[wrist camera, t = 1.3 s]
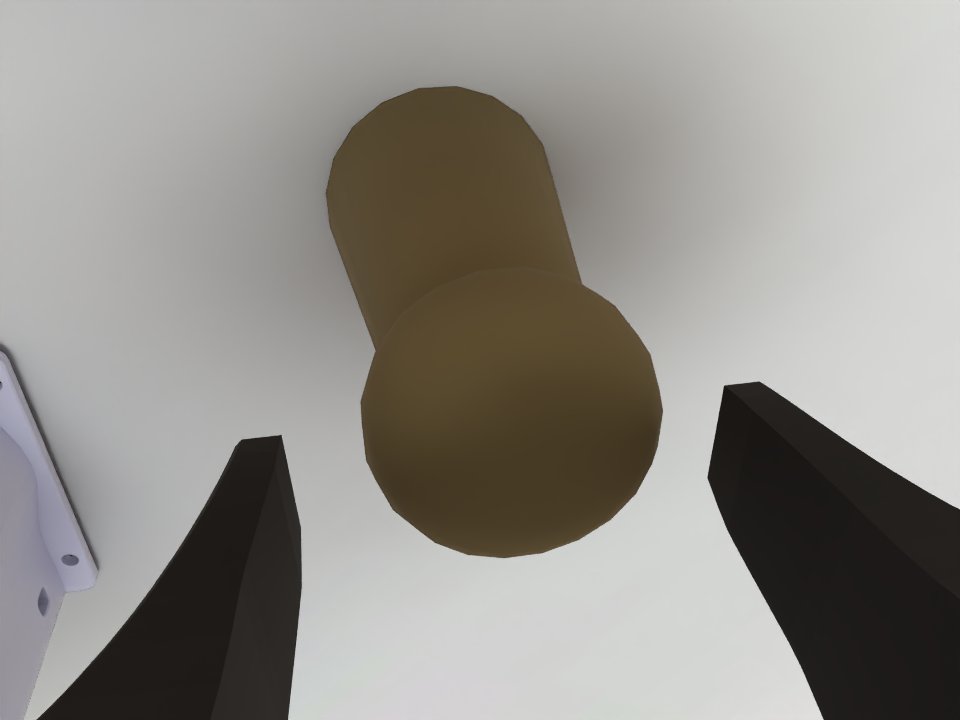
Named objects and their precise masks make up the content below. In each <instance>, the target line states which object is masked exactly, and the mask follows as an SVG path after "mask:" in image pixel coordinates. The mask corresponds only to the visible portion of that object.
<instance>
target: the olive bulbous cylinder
mask: <svg viewBox="0 0 960 720" xmlns="http://www.w3.org/2000/svg"><path fill="white" fill-rule="evenodd" d="M326 198H327V206H328V214H329V222H330V228H331V231H332V233H333V236H334V239H335V241H336V244H337V247H338V250H339V252H340V255H341V258H342V260H343V263H344V266H345V268H346V271H347V274H348V277H349V279H350V282H351V285H352V287H353V290H354V293H355V296H356V298H357V301H358V304H359V306H360V309H361V312H362V315H363V317H364V320H365V323H366V325H367V328H368V331H369V334H370V336H371V339H372V342H373V344H374V347H375V350H376V352H375V355H374V358H373V361H372V364H371V367H370V371H369V374H368V378H367V381H366V385H365V388H364V392H363V395H362V399H361V417H362V429H363V438H364V446H365V455H366V461H367V463H368V465H369V467H370V469H371V471H372V473H373V475H374V478H375V480H376V481H377V483H378V485H379V487H380V488H381V490H382V492H383V493H384V495H385V497H386V499H387V500H388V502H389V504H390V506H391V507H392V509H393V510H394V511H395V512H396V513H397V514H399V515H400V516H401V517H402V518H404V519H405V520H406V521H408V522H409V523H410V524H411V525H413V526H414V527H415V528H416V529H418V530H419V531H420V532H421V533H423V534H424V535H425V536H427V537H428V538H429V539H431V540H432V541H433V542H435V543H437V544H440V545H442V546H445V547H448V548H451V549H453V550H456V551H459V552H462V553H464V554H467V555H475V556H486V557H497V558H509V557H517V556H524V555H531V554H539V553H544V552H547V551H549V550H552V549H555V548H558V547H560V546H563V545H566V544H569V543H571V542H574V541H577V540H579V539H581V538H582V537H584V536H586V535H587V534H589V533H590V532H592V531H594V530H595V529H597V528H598V527H600V526H601V525H603V524H605V523H606V522H608V521H609V520H611V519H612V518H613V517H614V516H615V515H616V514H617V513H618V512H619V511H620V510H621V509H622V508H623V507H624V506H625V505H626V503H627V502H628V501H629V500H630V499H631V498H632V497H633V496H634V495H635V494H636V493H637V491H638V489H639V487H640V485H641V483H642V482H643V480H644V478H645V476H646V474H647V472H648V470H649V468H650V467H651V465H652V462H653V459H654V456H655V453H656V450H657V447H658V441H659V434H660V428H661V421H662V414H663V408H662V402H661V396H660V391H659V386H658V383H657V379H656V375H655V371H654V367H653V363H652V359H651V355H650V353H649V352H648V350H647V348H646V347H645V345H644V344H643V342H642V341H641V339H640V337H639V336H638V335H637V333H636V332H635V331H634V329H633V328H632V327H631V326H630V324H629V323H628V322H627V320H626V319H625V318H624V317H623V315H622V314H621V313H620V311H619V310H618V309H617V308H616V306H615V305H613V304H612V303H610V302H609V301H607V300H606V299H604V298H603V297H602V296H600V295H599V294H597V293H595V292H594V291H592V290H590V289H589V288H587V287H585V286H584V285H582V282H581V279H580V275H579V271H578V268H577V264H576V261H575V257H574V253H573V250H572V246H571V243H570V239H569V236H568V232H567V228H566V225H565V221H564V218H563V214H562V210H561V207H560V203H559V200H558V196H557V192H556V189H555V185H554V182H553V178H552V175H551V171H550V168H549V165H548V161H547V158H546V154H545V151H544V148H543V144H542V143H541V142H540V140H539V139H538V137H537V136H536V135H535V133H534V132H533V131H532V129H531V128H530V126H529V125H528V124H527V122H526V121H525V120H524V118H523V117H522V116H521V115H519V114H518V113H516V112H515V111H513V110H512V109H510V108H509V107H508V106H506V105H505V104H503V103H502V102H500V101H499V100H497V99H496V98H494V97H493V96H490V95H486V94H482V93H479V92H475V91H471V90H467V89H464V88H460V87H441V88H423V89H417V90H414V91H411V92H409V93H406V94H404V95H401V96H399V97H396V98H394V99H391V100H389V101H386V102H383V103H382V104H380V105H379V106H378V107H377V108H376V109H374V110H373V111H372V112H371V113H370V114H368V115H367V116H366V117H365V118H364V119H362V120H361V121H360V122H359V123H358V124H356V125H355V126H354V127H353V128H352V130H351V131H350V133H349V135H348V136H347V138H346V139H345V141H344V143H343V144H342V146H341V147H340V149H339V151H338V152H337V154H336V156H335V157H334V159H333V164H332V168H331V173H330V177H329V182H328V186H327V190H326Z"/></svg>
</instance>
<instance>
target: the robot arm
mask: <svg viewBox="0 0 960 720" xmlns="http://www.w3.org/2000/svg"><path fill="white" fill-rule="evenodd" d="M0 381H1V382H2V383H0V720H24V717H25V714H26V711H27V708H28V705H29V702H30V699H31V696H32V693H33V689H34V686H35V683H36V680H37V677H38V674H39V671H40V668H41V665H42V662H43V659H44V656H45V652H46V649H47V646H48V643H49V640H50V637H51V634H52V631H53V628H54V625H55V622H56V619H57V616H58V612H59V609H60V606H61V603H62V600H63V597H64V594H65V592H73V591H81V590H86V589H90V588H91V587H93V586H94V585H95V583H96V581H97V577H98V570H97V568H96V565H95V563H94V561H93V558H92V556H91V554H90V551H89V549H88V546H87V544H86V542H85V539H84V537H83V535H82V532H81V530H80V528H79V525H78V523H77V520H76V518H75V516H74V513H73V511H72V509H71V506H70V504H69V501H68V499H67V497H66V494H65V492H64V490H63V487H62V485H61V482H60V480H59V478H58V475H57V473H56V471H55V468H54V466H53V463H52V461H51V459H50V456H49V454H48V452H47V449H46V447H45V444H44V442H43V440H42V437H41V435H40V433H39V430H38V428H37V425H36V423H35V421H34V418H33V416H32V414H31V411H30V409H29V406H28V404H27V402H26V399H25V397H24V395H23V392H22V390H21V388H20V385H19V383H18V380H17V378H16V376H15V373H14V371H13V369H12V366H11V364H10V361H9V359H8V358H7V356H6V355H5V354H4V353H3V352H1V351H0ZM707 478H708V480H709V483H710V486H711V489H712V491H713V494H714V497H715V500H716V502H717V505H718V508H719V510H720V513H721V515H722V518H723V520H724V523H725V525H726V528H727V530H728V532H729V534H730V536H731V538H732V540H733V542H734V544H735V545H736V547H737V549H738V551H739V553H740V555H741V557H742V558H743V560H744V562H745V564H746V566H747V568H748V569H749V571H750V573H751V575H752V577H753V579H754V580H755V582H756V584H757V586H758V588H759V589H760V591H761V593H762V595H763V597H764V598H765V600H766V602H767V604H768V606H769V607H770V609H771V611H772V613H773V615H774V616H775V618H776V620H777V622H778V624H779V625H780V627H781V629H782V631H783V633H784V634H785V636H786V638H787V640H788V642H789V644H790V646H791V648H792V650H793V652H794V654H795V656H796V658H797V660H798V662H799V664H800V666H801V668H802V670H803V672H804V674H805V677H806V679H807V681H808V684H809V686H810V688H811V691H812V693H813V696H814V698H815V700H816V703H817V705H818V707H819V710H820V712H821V714H822V717H823V719H824V720H960V509H958V508H956V507H954V506H952V505H950V504H948V503H946V502H945V501H943V500H941V499H939V498H937V497H936V496H934V495H932V494H930V493H929V492H927V491H925V490H923V489H922V488H920V487H918V486H917V485H915V484H913V483H912V482H910V481H908V480H907V479H905V478H903V477H902V476H900V475H898V474H897V473H895V472H893V471H892V470H890V469H889V468H887V467H886V466H884V465H882V464H881V463H879V462H878V461H876V460H875V459H873V458H871V457H870V456H868V455H867V454H865V453H864V452H862V451H861V450H859V449H858V448H856V447H855V446H853V445H852V444H850V443H849V442H847V441H846V440H844V439H843V438H841V437H840V436H838V435H837V434H836V433H834V432H833V431H831V430H830V429H828V428H827V427H825V426H824V425H823V424H821V423H820V422H818V421H817V420H815V419H814V418H812V417H811V416H810V415H808V414H807V413H805V412H804V411H802V410H801V409H800V408H798V407H797V406H795V405H794V404H792V403H791V402H790V401H788V400H787V399H785V398H784V397H782V396H781V395H779V394H778V393H776V392H775V391H773V390H772V389H770V388H769V387H767V386H766V385H764V384H763V383H761V382H752V383H743V384H734V385H725V386H724V390H723V395H722V401H721V406H720V412H719V417H718V422H717V428H716V433H715V439H714V444H713V450H712V455H711V461H710V466H709V472H708V477H707ZM67 554H69V555H74V556H69V555H67ZM301 589H302V564H301V526H300V522H299V517H298V512H297V507H296V502H295V498H294V493H293V488H292V483H291V479H290V474H289V469H288V464H287V459H286V455H285V450H284V445H283V440H282V435H279V436H270V437H261V438H252V439H243V440H241V441H240V442H239V443H238V444H237V445H236V446H235V449H234V451H233V453H232V455H231V457H230V459H229V461H228V463H227V465H226V467H225V469H224V471H223V473H222V475H221V477H220V479H219V481H218V483H217V485H216V486H215V488H214V490H213V492H212V494H211V495H210V497H209V499H208V501H207V503H206V504H205V506H204V508H203V510H202V511H201V513H200V515H199V516H198V518H197V520H196V521H195V523H194V525H193V526H192V528H191V530H190V531H189V533H188V535H187V536H186V538H185V539H184V541H183V543H182V544H181V546H180V547H179V549H178V550H177V552H176V553H175V555H174V556H173V558H172V559H171V561H170V562H169V564H168V565H167V566H166V568H165V569H164V571H163V572H162V574H161V575H160V577H159V578H158V580H157V581H156V583H155V584H154V585H153V587H152V588H151V590H150V591H149V592H148V594H147V595H146V596H145V598H144V599H143V600H142V602H141V603H140V605H139V606H138V607H137V608H136V610H135V611H134V612H133V614H132V615H131V616H130V617H129V619H128V620H127V621H126V622H125V624H124V625H123V626H122V627H121V629H120V630H119V631H118V632H117V634H116V635H115V636H114V637H113V638H112V640H111V641H110V642H109V643H108V644H107V646H106V647H105V648H104V649H103V650H102V651H101V652H100V653H99V655H98V656H97V657H96V658H95V659H94V660H93V661H92V662H91V664H90V665H89V666H88V667H87V668H86V669H85V670H84V671H83V673H82V674H81V675H80V676H79V677H78V678H77V679H76V680H75V681H74V682H73V684H72V685H71V686H70V687H69V688H68V689H67V690H66V691H65V692H64V693H63V694H62V695H61V696H60V697H59V698H58V699H57V700H56V701H55V702H54V703H53V704H52V705H51V706H50V707H49V708H48V709H47V710H46V711H45V712H44V713H43V714H42V715H41V716H40V717H39V718H38V719H37V720H288V714H289V704H290V695H291V685H292V676H293V667H294V657H295V648H296V638H297V629H298V619H299V609H300V599H301Z"/></svg>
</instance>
